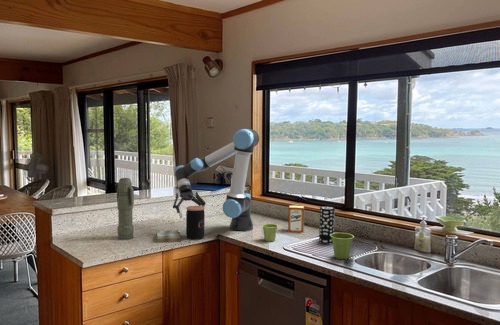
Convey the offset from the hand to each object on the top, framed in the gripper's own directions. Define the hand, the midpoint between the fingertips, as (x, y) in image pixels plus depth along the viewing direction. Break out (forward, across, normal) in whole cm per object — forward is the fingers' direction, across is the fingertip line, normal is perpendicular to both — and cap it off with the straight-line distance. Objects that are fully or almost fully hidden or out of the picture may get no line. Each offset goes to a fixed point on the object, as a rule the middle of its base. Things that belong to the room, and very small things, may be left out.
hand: (192, 216), depth 244 cm
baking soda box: (+19, -64, +1) cm, 67 cm away
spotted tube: (+39, -66, +22) cm, 80 cm away
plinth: (+8, +15, -9) cm, 19 cm away
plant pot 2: (+57, -56, +40) cm, 90 cm away
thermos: (0, +36, -18) cm, 41 cm away
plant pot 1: (+27, -38, +10) cm, 48 cm away
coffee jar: (+11, -1, -7) cm, 13 cm away
